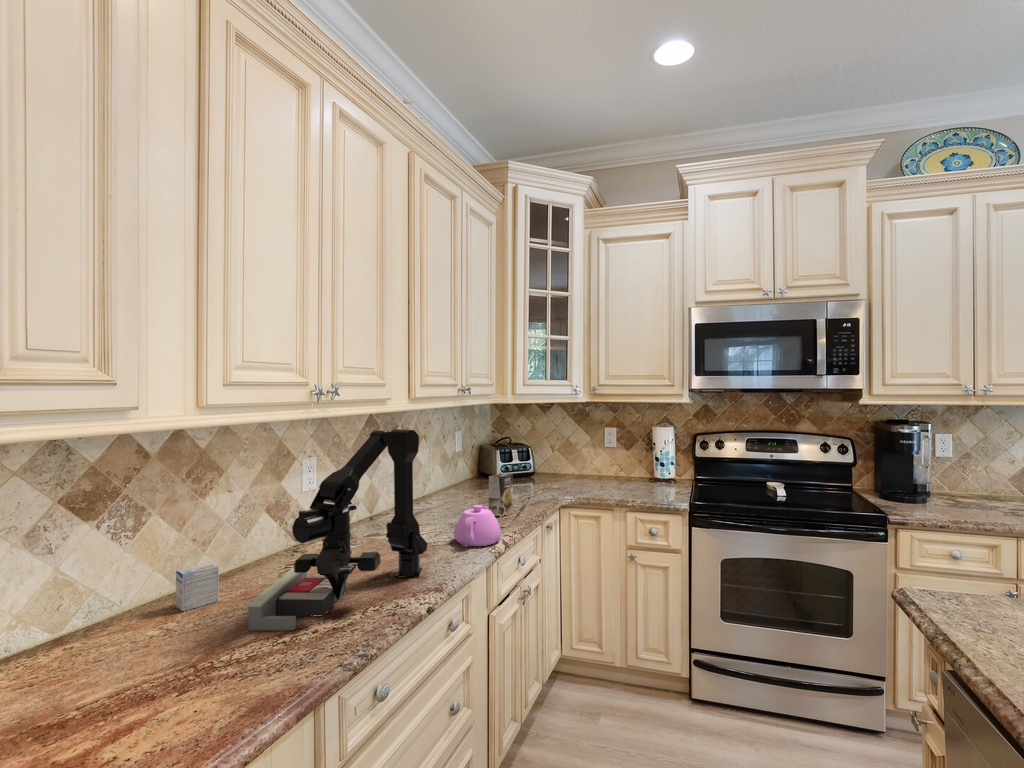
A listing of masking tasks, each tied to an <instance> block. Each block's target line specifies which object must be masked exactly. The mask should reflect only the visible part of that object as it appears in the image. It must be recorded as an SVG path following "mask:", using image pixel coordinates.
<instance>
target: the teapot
mask: <svg viewBox="0 0 1024 768" xmlns="http://www.w3.org/2000/svg"><path fill="white" fill-rule="evenodd" d="M453 537H454V540H455V541H456V542H457V543H458V544H459V543H460V544H463V545H467V546H466V547H468V546H485V545H490V546H492V545H491V544H493V545H495V544H497V542H498V541H499V540H500V538H501V537H502V531H501V526H500V524H499V521H498V519H497V517H495V516H494V514H493V513H492V512H491V511H490V510H489V506H486V505H485V506H483V505H480V504H474V505H472V508H469V509H467V510H464V511H463V512H462V513H461V515H460V517H459V519H458V520H457V522H456V524H455V527H454V531H453ZM494 543H495V544H494ZM463 545H462V546H463ZM485 547H486V546H485Z"/></svg>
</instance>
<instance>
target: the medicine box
mask: <svg viewBox="0 0 1024 768" xmlns="http://www.w3.org/2000/svg"><path fill="white" fill-rule="evenodd" d="M219 570H220V567H219V566H218V565H216V564H214V563H212V562H208V563H204V564H199V565H196V566H195V565H194V566H191V567H187V568H182V569H179V570H176V572H175V607H176V608H177V609H178V608H179V609H180V611H181V612H182V611H184V612H187V611H190V609H191V610H193V608H194V609H197V607H198V608H201V607H203V606H207V604H208V605H211V604H215V603H217V602H219V599H220V597H219V596H220V595H219V586H220V585H219V582H220V581H219V579H220V578H219V577H220V575H219V573H220V571H219ZM179 609H178V610H179ZM186 610H187V611H186Z"/></svg>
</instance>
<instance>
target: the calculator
mask: <svg viewBox="0 0 1024 768" xmlns="http://www.w3.org/2000/svg"><path fill="white" fill-rule="evenodd" d="M345 591H346V583H345V586H344V589H343V592H342V595H341V597H343V596H344V595H345V593H346V592H345ZM344 592H345V593H344ZM337 601H339V599H337V598H336V596H335V594H334V591H333V589H332V586H331V584H330V582H329V580H328V579H324V580H323V581H322V579H303V580H302V581H300V582H299V583H298V584H296V585H295V586H294V587H292V588H291V589H289V590H288V591H287V593H285V594H284V595H282V596H281V597H280V598H278V599H277V602H276V616H296V617H314V616H313V615H325V614H326V612H327V611H328V610H329V609H330V610H331V608H332V606H334V604H335V603H336V602H337ZM330 610H329V611H330ZM329 611H328V612H329ZM328 612H327V613H328ZM311 615H312V616H311ZM326 615H327V614H326ZM326 615H325V616H326Z"/></svg>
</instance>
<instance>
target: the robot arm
mask: <svg viewBox="0 0 1024 768" xmlns="http://www.w3.org/2000/svg"><path fill="white" fill-rule="evenodd" d="M419 445H420V436H419V433H418V432H417V431H415V430H414V429H399V428H394V429H392V430H390V431H389V430H379V429H378V430H377V429H376V430H373V431H371V433H370V434H369V437H368V438H367V439H366V441H364V443H363V444H362V445H361V446H360V448H359V449H358V450H357V451H356V452H355V453H354V454H353V456H352V457H350V459H349V460H348V461H347V463H346V464H345V465H344V466H342V467H341V468H339V469H338V470H336V471H334V472H332V473H331V474H329V475H328V476H326V477H325V478H324V479H323V480H322V481H321V483H320V484H319V487H318V491H317V492H316V494H315V496H314V499H313V501H312V502H311V504H310V506H309V510H300V511H299V512H298V517H297V518H296V519H294V522H293V525H292V526H291V527H292V529H291V530H292V534H293V537H294V539H295V540H296V542H298V543H299V544H305V543H309V542H312V541H316V540H318V539H321V538H323V537H324V539H322V547H321V551H320V552H319V553H303V554H301V555H300V556H299V557H298V558H297V559H295V561H294V563H293V567H294V572H295V573H305V572H307V573H308V572H309V571H310V570H311V569H312V567H313V568H314V567H315V568H316V570H317V574H318V575H319V576H325V577H326V578H327V579H328V580H329V582H330V584H331V586H332V589H333V591H334V594H335V596H336V598H337V599H338V600H340V599H341V598H342V596H343V595H342V592H343V589H344V586H345V583H346V582H347V580H348V578H349V575H350V574H352V573H353V572H354V570H355V569H356V568H357V569H358V570H360V572H373V571H376V570H377V568H378V567H379V565H380V564H381V554H380V553H379V552H378V551H367V552H362V554H361V555H360V556H351V555H352V549H351V538H352V532H351V517H350V514H351V513H350V512H351V511H356V510H357V508H358V507H357V506H356V505H355V504H354V503H352V500H353V498H354V497H355V495H356V494H357V492H358V489H359V487H360V480H361V479H362V477H363V476H364V475H365V474H366V472H367V471H368V470H369V469H370V467H371V466H373V464H374V462H375V461H376V460H377V459H378V458H379V457H380V455H381V454H382V453H383V452H384V450H385V449H386V448H387V451H388V454H389V457H390V459H391V460H392V461H393V480H394V482H393V487H394V488H393V490H394V492H393V494H394V496H393V497H394V499H393V500H394V501H393V502H394V504H393V505H394V507H393V508H394V515H393V517H392V519H391V521H390V522H387V523H386V539H387V541H388V543H389V545H390V549H391V551H392V552H396V553H397V552H398V556H397V558H398V565H397V566H398V570H397V571H396V573H395V575H394V577H395V576H419V575H420V576H421V574H422V572H423V570H422V569H423V568H422V567H420V562H421V560H420V558H421V557H420V555H423V554H424V553H425V552H427V548H428V542H427V541H426V540H425V538H423V536H422V535H421V532H420V531H421V530H420V524H419V522H418V521H417V518H416V517H415V514H414V483H413V482H414V481H413V479H414V478H413V477H414V475H413V474H414V473H413V472H414V471H413V466H414V465H413V464H414V461H415V458H416V456H417V455H418V453H419V449H420V448H419V447H420V446H419ZM421 571H422V572H421ZM420 573H421V574H420ZM420 576H419V577H420ZM341 595H342V596H341Z"/></svg>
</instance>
